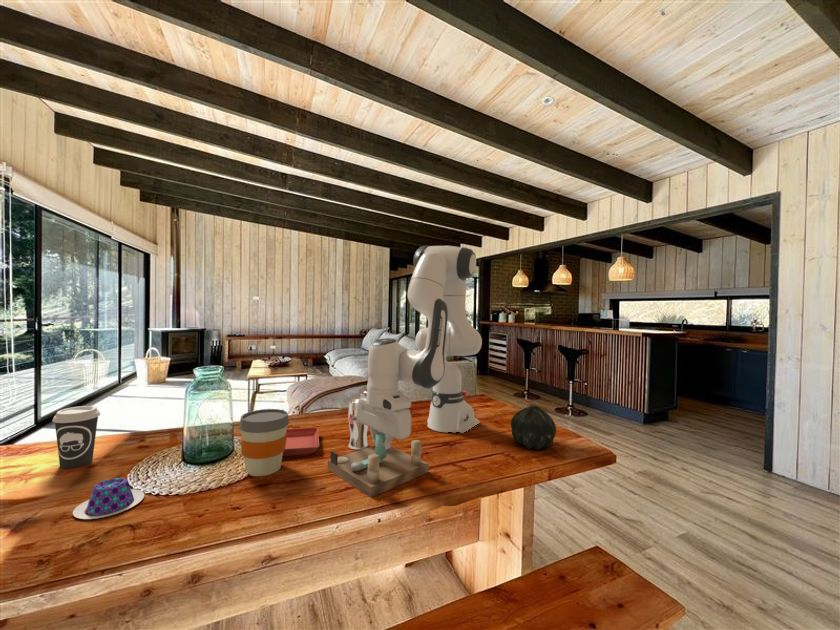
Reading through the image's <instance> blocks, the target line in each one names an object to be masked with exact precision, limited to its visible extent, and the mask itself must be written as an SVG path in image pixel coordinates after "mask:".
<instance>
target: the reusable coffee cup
mask: <svg viewBox="0 0 840 630" xmlns="http://www.w3.org/2000/svg"><path fill="white" fill-rule="evenodd" d="M288 413H289V412H287V411H286V410H283V409H279V408H266V409H265V408H264V409H263V408H262V409H256V410H251V411H248V412H246V413H244V414H242V415H240V420H239V425H238V427H239V430H240V431H241V432H240V433H241V436H240V438H239V439H240V440H239V441H240V448H241V455H242V457H243V459H244V466H245V472H246V471H247V472H248V473H250V475H249V476H252V477H262V476H263V477H264V476H269V475H272V474H276V473H277V472H278V471H280V470H281V466H282V460H283V456H282V455H283V451H284V450H285V446H286V439H287V431H286V430H287V429H288V425H289V424H290V423H289V414H288Z"/></svg>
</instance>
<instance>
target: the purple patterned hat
mask: <svg viewBox="0 0 840 630" xmlns="http://www.w3.org/2000/svg"><path fill="white" fill-rule="evenodd" d="M144 498H145V492H144V491H143V490H140V489H136V488H135V489H134V488H131V485H130V482H129V480H128V479H126V478H124V477H115V478H110V479H106V480H102V481H100V483H97V484H96V485H94V487H93V488H92V489H91V494H90V497H89V499H87V500H85V501H83V502H81V503H80V504H79V505H77V506H75V508H74V509H73V511H72V516H73V517H75V518H77V519H80V520H93V519H100V518H101V519H102V518H105V517H110V516H113V515H117V514H119V513H122V512H124V511H127V510H129V509H131V508H133V507H135V506H136V505H138V504H139V503H140V502H141V501H142V500H143V499H144Z"/></svg>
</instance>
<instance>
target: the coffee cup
mask: <svg viewBox="0 0 840 630" xmlns="http://www.w3.org/2000/svg"><path fill="white" fill-rule="evenodd" d="M100 416H101V412H100V410H99V409H98V408H97V406H95V405H82V406H81V405H79V406H74V407H73V406H71V407H67V408H63V409H60V410H58V411H57V412H56V413H55V415H54V416H53V418H52V422H53V423H54V428H55V434H56V436H55V437H56V445H57V452H58V454H57V455H58V461H59V463H58V464H59V468H60V469H63V470H64V469H65V470H69V469H76V468H80V467H83V466H86V465H87V466H88V465H89V464H91V463H92V462H93V459H94V452H95V442H96V435H97V434H96V433H97V428H98V427H97V426H98V420H99V417H100Z"/></svg>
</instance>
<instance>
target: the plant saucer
mask: <svg viewBox="0 0 840 630" xmlns="http://www.w3.org/2000/svg"><path fill="white" fill-rule="evenodd" d="M286 431H287V439H286V446H285V450H284V451H283V455H282V457H290V456H291V457H292V456H300V455H302V456H303V455H312V454H314V453H315V452H316V451H317V450H318V449H319V447H320V438H319V437H320V436H319V427H304V428H302V427H301V428H287V430H286Z"/></svg>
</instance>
